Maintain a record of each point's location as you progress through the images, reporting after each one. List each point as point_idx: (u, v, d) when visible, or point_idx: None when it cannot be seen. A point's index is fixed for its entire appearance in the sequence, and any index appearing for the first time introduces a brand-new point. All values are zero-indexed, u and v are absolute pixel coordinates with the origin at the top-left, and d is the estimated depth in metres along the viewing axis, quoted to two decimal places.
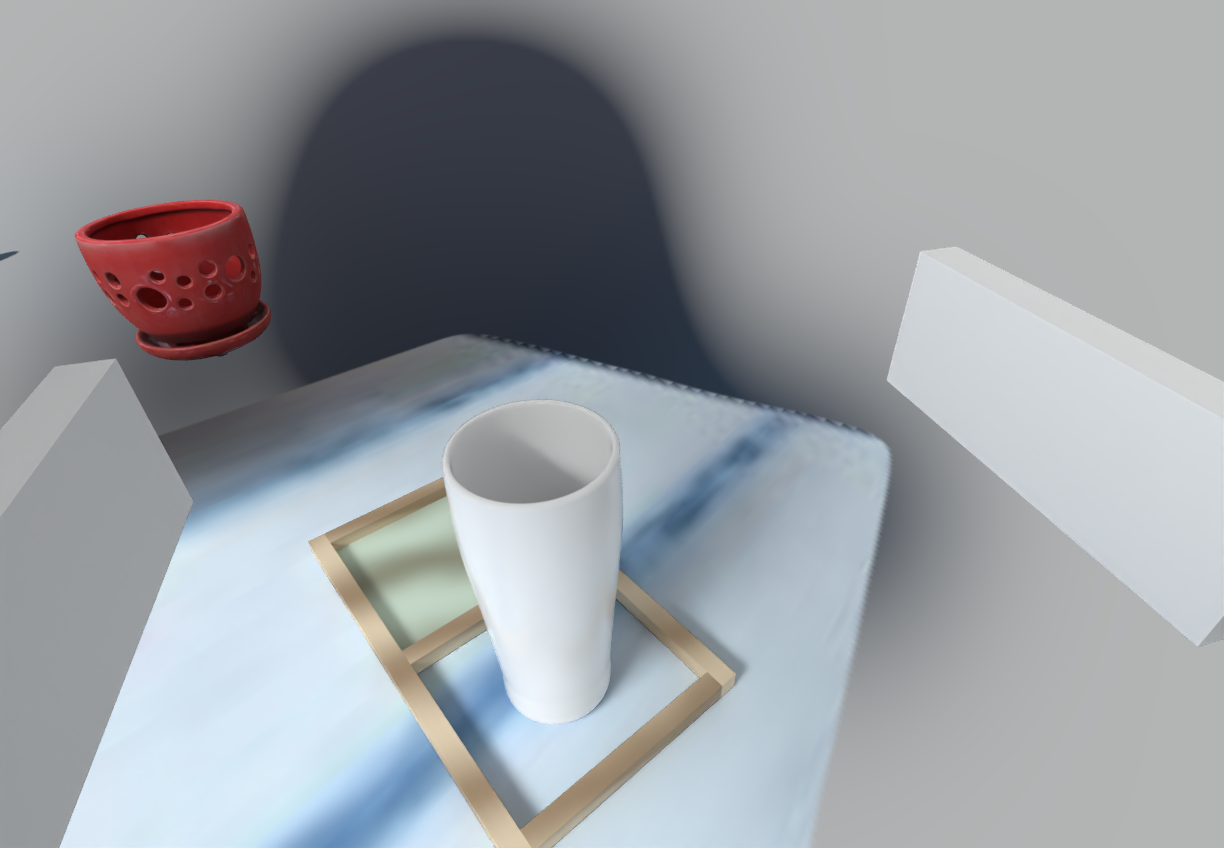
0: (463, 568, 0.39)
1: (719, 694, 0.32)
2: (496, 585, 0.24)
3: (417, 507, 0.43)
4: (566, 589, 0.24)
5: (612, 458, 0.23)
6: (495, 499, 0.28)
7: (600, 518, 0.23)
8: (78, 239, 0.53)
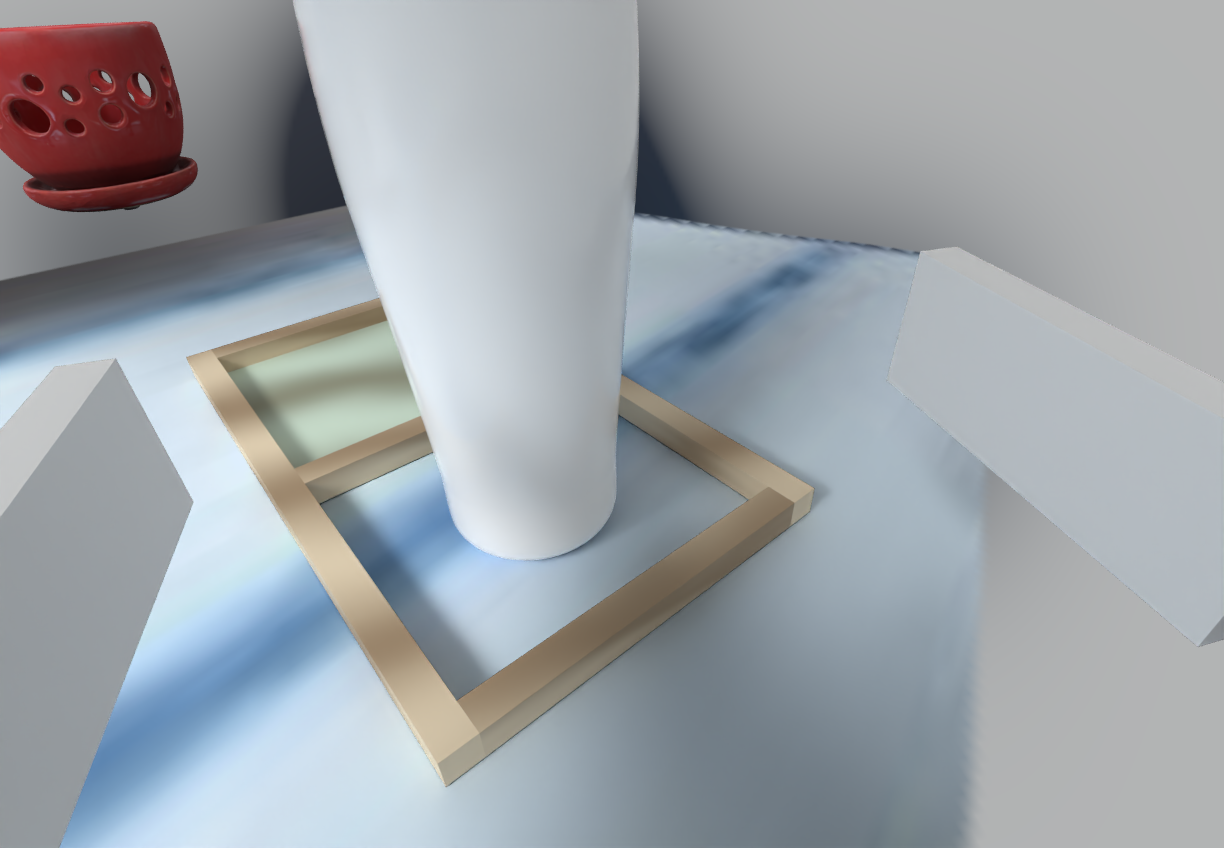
0: (404, 387, 0.27)
1: (789, 518, 0.20)
2: (395, 202, 0.12)
3: (348, 328, 0.31)
4: (532, 210, 0.12)
5: None
6: None
7: (596, 38, 0.12)
8: None
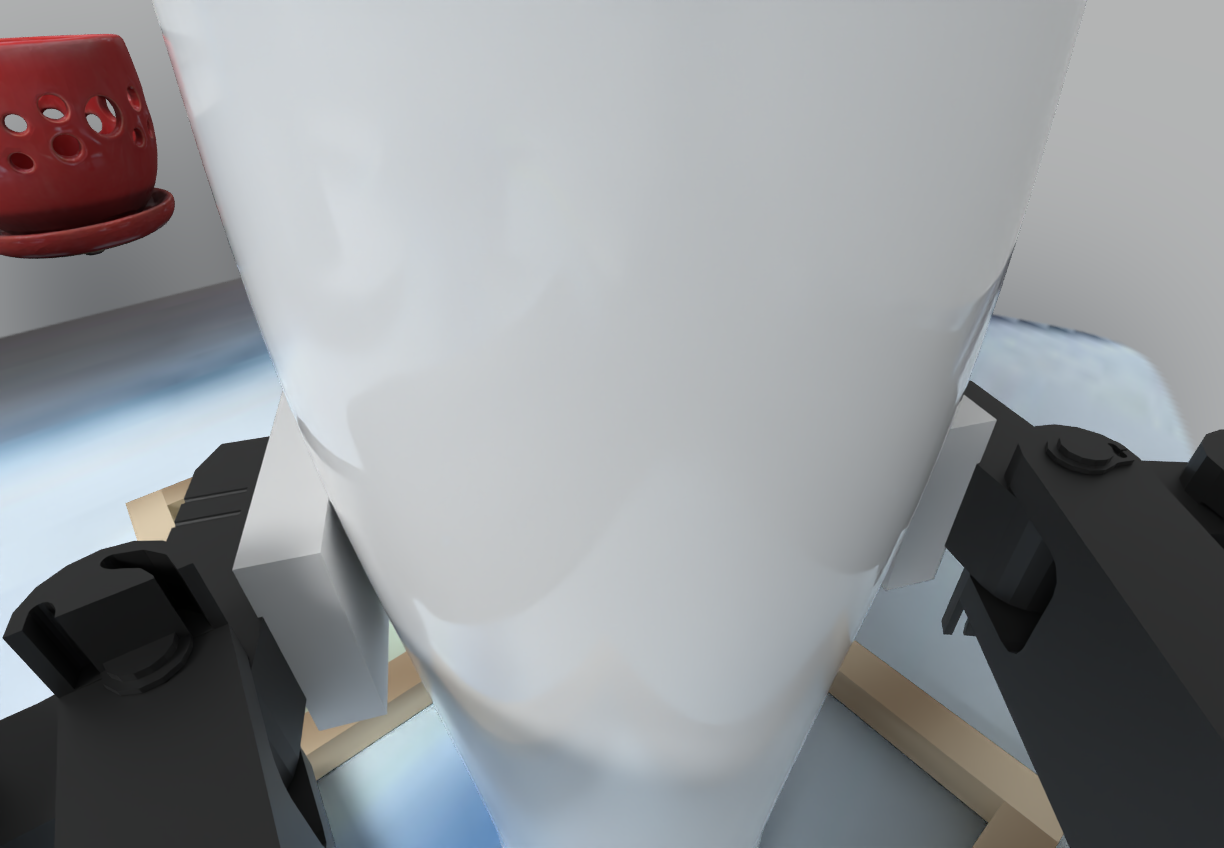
0: None
1: None
2: (446, 584, 0.05)
3: None
4: (785, 600, 0.05)
5: None
6: None
7: (1019, 204, 0.04)
8: None
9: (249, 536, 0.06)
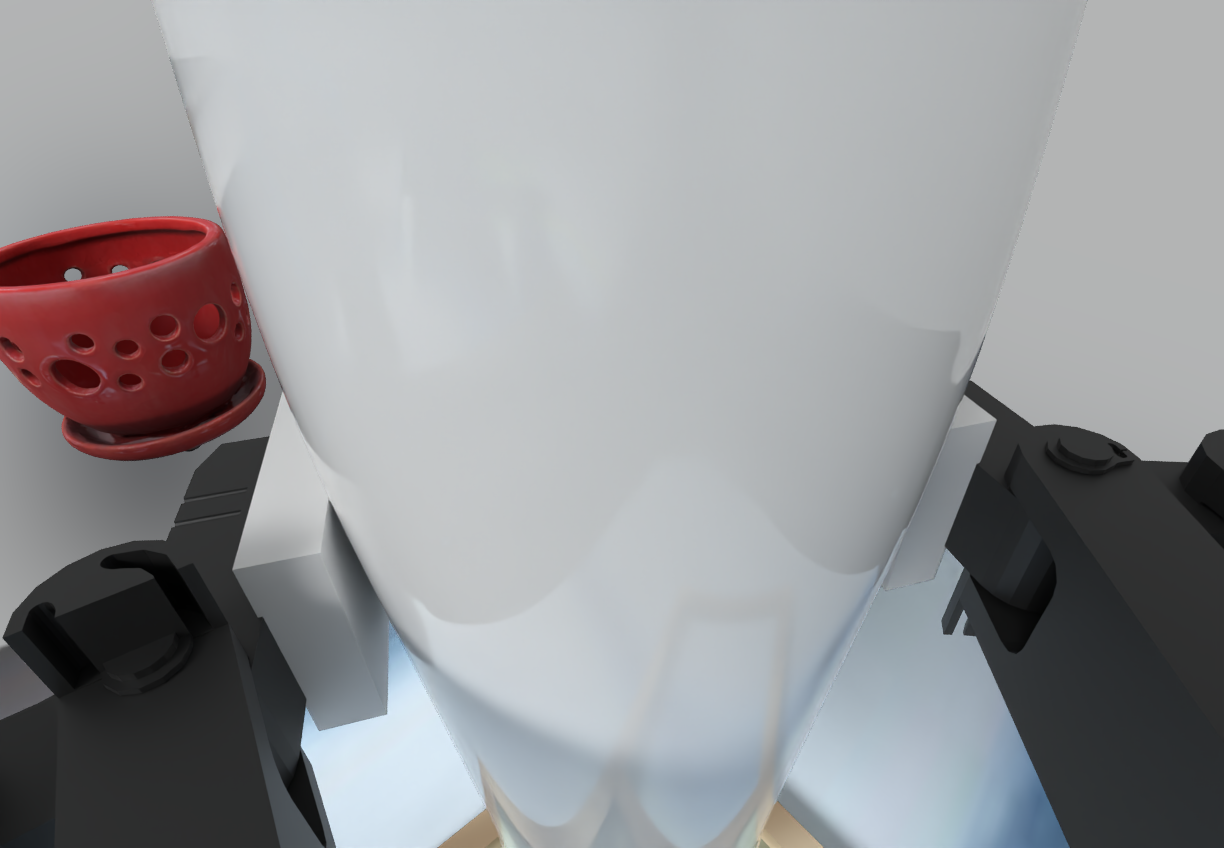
0: None
1: None
2: (446, 582, 0.05)
3: None
4: (785, 599, 0.05)
5: None
6: None
7: (1020, 203, 0.04)
8: None
9: (249, 536, 0.06)
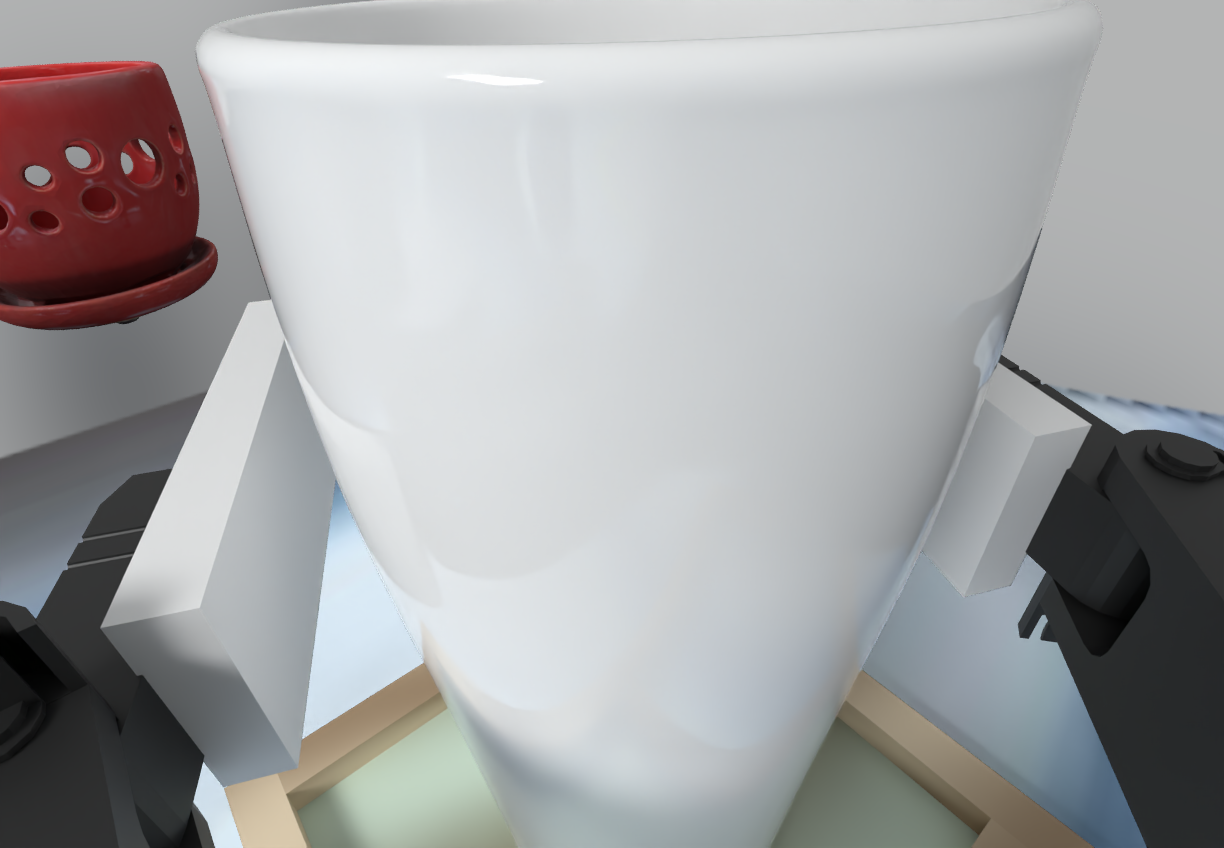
0: None
1: None
2: (482, 630, 0.05)
3: None
4: (799, 644, 0.05)
5: None
6: None
7: (1018, 284, 0.04)
8: None
9: (125, 588, 0.06)
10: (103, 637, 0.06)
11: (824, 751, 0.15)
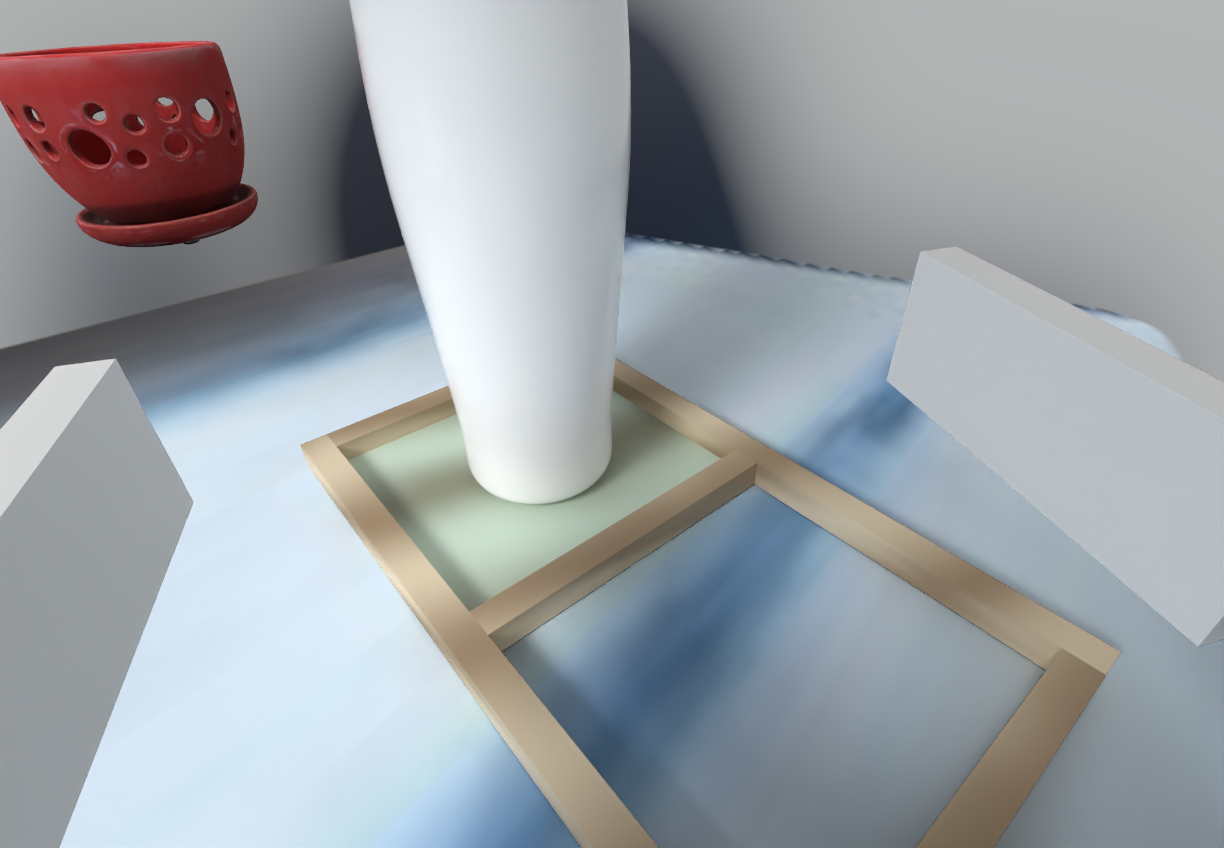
0: None
1: None
2: (435, 195, 0.16)
3: None
4: (543, 202, 0.16)
5: None
6: None
7: (596, 67, 0.15)
8: None
9: None
10: None
11: (657, 440, 0.26)
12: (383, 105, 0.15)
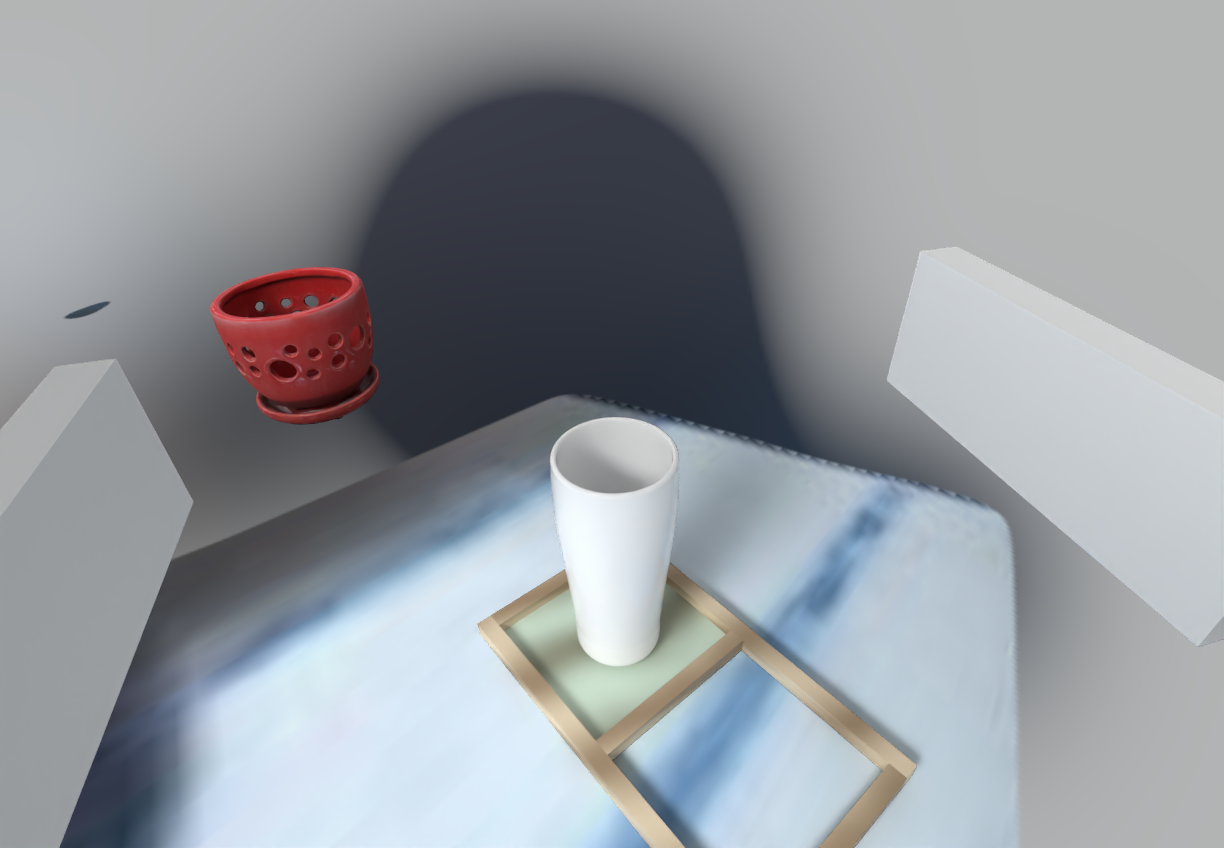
0: None
1: (902, 785, 0.34)
2: (588, 554, 0.33)
3: None
4: (639, 556, 0.33)
5: (674, 461, 0.32)
6: None
7: (666, 504, 0.32)
8: (216, 315, 0.55)
9: None
10: None
11: (684, 615, 0.43)
12: (567, 517, 0.33)
